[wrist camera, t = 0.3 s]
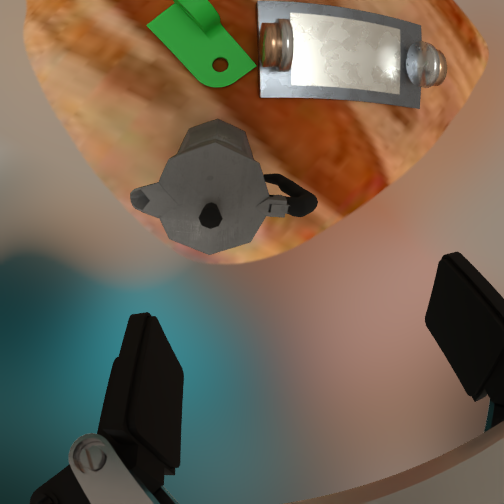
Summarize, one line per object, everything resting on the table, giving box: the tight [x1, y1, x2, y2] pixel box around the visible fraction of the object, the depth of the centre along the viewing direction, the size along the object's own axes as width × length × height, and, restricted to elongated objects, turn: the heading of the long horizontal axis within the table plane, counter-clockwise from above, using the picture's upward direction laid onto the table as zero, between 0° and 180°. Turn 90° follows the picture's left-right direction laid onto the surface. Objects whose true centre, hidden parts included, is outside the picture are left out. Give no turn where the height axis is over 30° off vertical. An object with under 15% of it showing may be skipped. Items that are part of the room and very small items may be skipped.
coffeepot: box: [130, 119, 318, 255], centre depth 29 cm, size 15×9×18 cm, turn 84°
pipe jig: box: [256, 1, 447, 109], centre depth 27 cm, size 21×12×8 cm, turn 92°
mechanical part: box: [146, 0, 256, 87], centre depth 26 cm, size 12×6×8 cm, turn 37°
